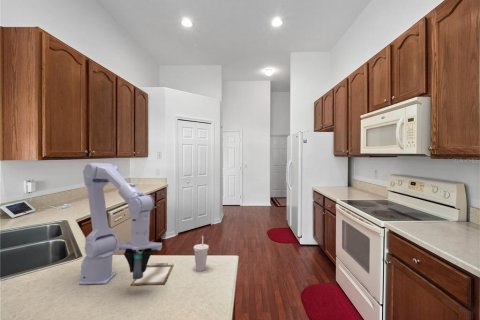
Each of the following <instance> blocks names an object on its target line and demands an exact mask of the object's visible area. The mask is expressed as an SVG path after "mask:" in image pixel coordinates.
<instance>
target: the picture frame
mask: <svg viewBox="0 0 480 320" xmlns="http://www.w3.org/2000/svg"><path fill="white" fill-rule="evenodd" d="M173 267H174V264H168V262H151V263H150V264H147V267H146V270H145V272H143V277H142V278H141V279H133V281H132V282H131V283H130V286H131V287H132V286H133V287H134V286H164V285H166V283H167V282H168V281H167V280H168V279H169V276H170V274H171V272H172V270H173Z"/></svg>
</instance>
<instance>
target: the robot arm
mask: <svg viewBox="0 0 480 320" xmlns="http://www.w3.org/2000/svg"><path fill="white" fill-rule="evenodd" d="M82 174H83V181H84V186H85V187H86V188H87V189H86V190H87V195H88V196H87V197H88V198H87V199H88V204H89V205H88V206H89V213H90V221H91V228H92V231H91V232H90V233H89V234H88V235H87V236H85V239H84V241H85V243H84V244H85V245H84V253H85V256H84V257H83V260H82V262H81V266H80V281H79V282H78V284H79V285H98V284H99V285H100V284H101V285H102V284H108V283H109V282H110V280H111V279H113V277H115V275H117V272H116V271H115V272H113V254H115V251H124V253H123V255H124V258H125V259H126V261H127V264H128V266H129V267H128V268H129V271H130V273H133V265H134V253H136V252H137V251H139V250H140V251H141V252H142V260H143V264H142V272H145V270H146V267H147V265H148V263H149V260H150V257H151V255H152V253H153V252H154V251H155V250H156V251H162V248H163V243H162V242H154V241H150V223H151V222H150V221H151V211H153V209H154V206H155V199H154V197H153V196H152V195H150V194H145V193H144V192H143V191H141V190H140V189H139V188H138V187H137V186H136V184H135V183H134V182H127V181H126V180H125V179H124V177H123V176H122V175H121V173H120V172H119V168H118V166H117V165H116V164H115V163H108V162H107V163H105V162H103V163H101V162H88V163H87V164H86V165H85V166H84V169H83V171H82ZM109 183H111V184H112V185H113V186H114V187H116V188H117V189H118V195H119V196H120V197H121V198H122V199H123V200H124V202H126V203H127V207H128V211H129V213H130V215H129V217H130V219H131V226H130V228H131V229H130V241H129V242H119V239H118V237H117V234H116V230H115V229H113V228H111V227H109V221H108V215H107V207H106V199H105V191H104V187H105V186H106V185H109Z"/></svg>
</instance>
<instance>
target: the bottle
mask: <svg viewBox="0 0 480 320" xmlns="http://www.w3.org/2000/svg"><path fill="white" fill-rule="evenodd" d="M142 252H143V251H136V253H134V265H133V272H132V279H133V280H134V279H141V278H142V277H143V272H142V264H143V260H142Z"/></svg>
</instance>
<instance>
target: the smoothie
mask: <svg viewBox="0 0 480 320" xmlns="http://www.w3.org/2000/svg"><path fill="white" fill-rule="evenodd" d="M208 250H210V248H209V244H206V243H204V235H202V236H201V243H200V244H195V245H194V246H193V252H194V262H195V270H196V272H197V273H198V272H200V273H201V272H204V271H206V270H205V269H206V265H207V257H208V252H209V251H208Z"/></svg>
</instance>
